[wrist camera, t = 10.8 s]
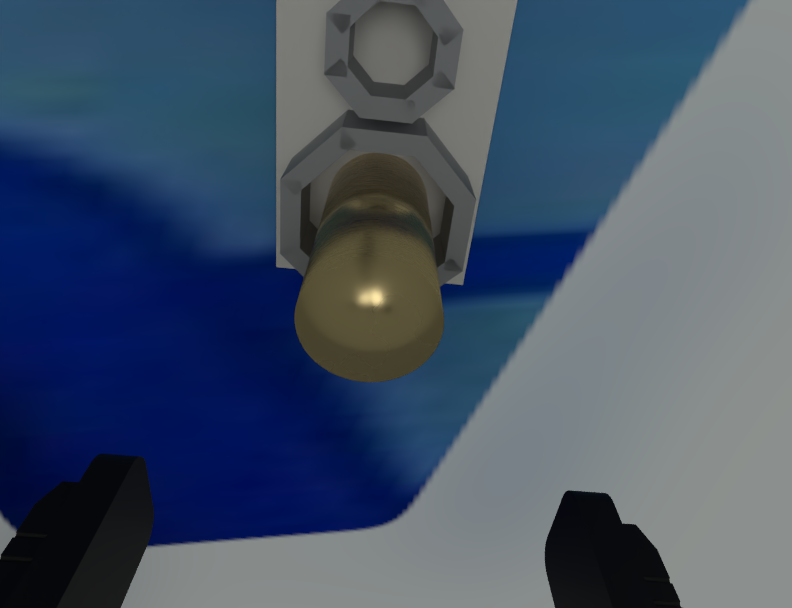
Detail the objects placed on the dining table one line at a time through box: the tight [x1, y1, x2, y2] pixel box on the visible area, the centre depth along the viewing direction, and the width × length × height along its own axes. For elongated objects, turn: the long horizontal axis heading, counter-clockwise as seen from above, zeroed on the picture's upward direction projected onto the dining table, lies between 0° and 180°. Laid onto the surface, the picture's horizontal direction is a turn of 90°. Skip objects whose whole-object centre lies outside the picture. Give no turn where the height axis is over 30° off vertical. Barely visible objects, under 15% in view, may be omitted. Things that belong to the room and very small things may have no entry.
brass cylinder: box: [294, 153, 444, 382], centre depth 21 cm, size 4×4×10 cm
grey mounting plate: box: [276, 0, 517, 286], centre depth 23 cm, size 13×9×4 cm
